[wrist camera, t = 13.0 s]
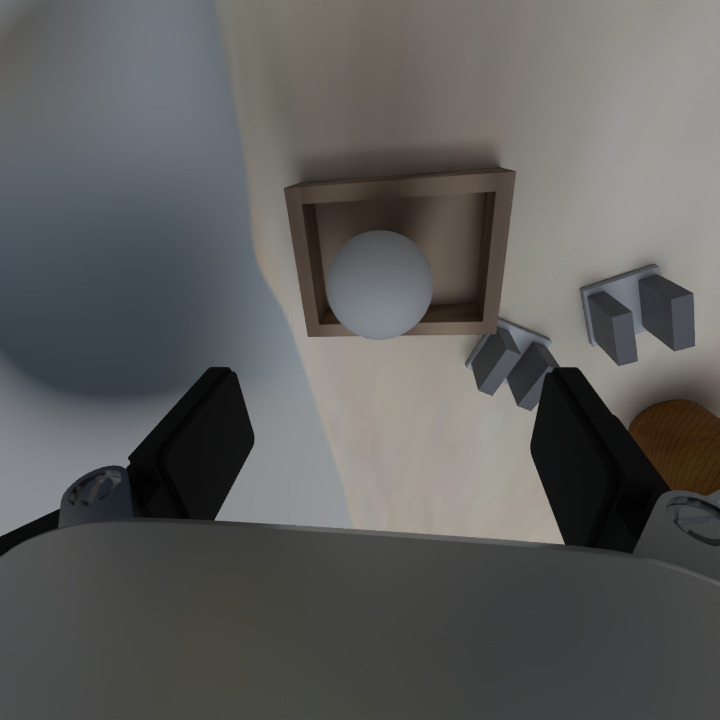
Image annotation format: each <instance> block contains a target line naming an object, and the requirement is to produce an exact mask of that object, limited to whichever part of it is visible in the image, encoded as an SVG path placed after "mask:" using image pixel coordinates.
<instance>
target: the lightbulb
mask: <svg viewBox="0 0 720 720" xmlns="http://www.w3.org/2000/svg"><path fill="white" fill-rule="evenodd" d="M433 283H434V281H433V275H432V269H431V266H430V264H429V261H428V259H427V257H426V256H425V254H424V253H423V251H422V250H421V249H420V248H419V247H418V246H417V245H416V244H415V243H414V242H413V241H411V240H410V239H408V238H407V237H405V236H403V235H400V234H398V233H395V232H391V231H384V230H378V231H369V232H365V233H361V234H359V235H357V236H355V237H353V238H351V239H350V240H349V241H348V242H346V243H345V244H344V245H343V246H342V247H341V248H340V250H339V251H338V252H337V253H336V254H335V256H334V258H333V260H332V262H331V263H330V266H329V270H328V273H327V282H326V290H327V298H328V301H329V304H330V307H331V309H332V311H333V313H334V314H335V316H336V318H337V319H338V320H339V321H340V323H341V324H342V325H343V326H345V327H346V328H347V329H348V330H350V331H351V332H353V333H355V334H356V335H359V336H362V337H364V338H369V339H374V340H384V339H390V338H394V337H397V336H399V335H402V334H404V333H405V332H407V331H409V330H410V329H412V328H413V327H414V326H415V325H416V324H417V323H418V322H419V321H420V320H421V319H422V317H423V316H424V315H425V313H426V311H427V309H428V307H429V305H430V303H431V299H432V295H433Z"/></svg>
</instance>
